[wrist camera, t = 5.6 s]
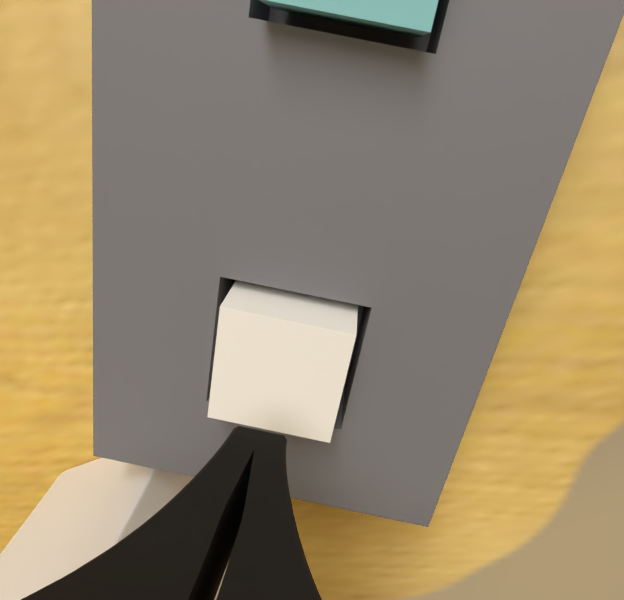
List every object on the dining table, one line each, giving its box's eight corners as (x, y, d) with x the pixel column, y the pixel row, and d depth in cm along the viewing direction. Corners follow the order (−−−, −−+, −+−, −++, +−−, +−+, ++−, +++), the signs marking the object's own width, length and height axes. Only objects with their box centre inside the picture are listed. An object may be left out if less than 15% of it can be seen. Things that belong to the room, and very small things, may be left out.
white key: (358, 294, 19) (356, 334, 16) (335, 390, 21) (330, 442, 18) (242, 270, 19) (219, 306, 17) (229, 368, 21) (207, 417, 18)
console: (676, -286, 14) (784, -409, 10) (419, 459, 25) (428, 526, 21) (161, -380, 14) (90, -531, 11) (133, 399, 25) (93, 455, 22)
